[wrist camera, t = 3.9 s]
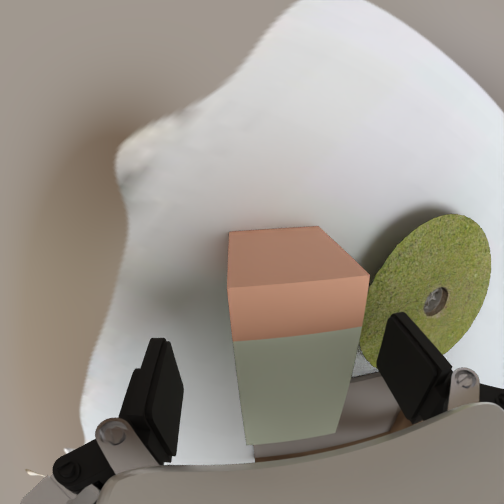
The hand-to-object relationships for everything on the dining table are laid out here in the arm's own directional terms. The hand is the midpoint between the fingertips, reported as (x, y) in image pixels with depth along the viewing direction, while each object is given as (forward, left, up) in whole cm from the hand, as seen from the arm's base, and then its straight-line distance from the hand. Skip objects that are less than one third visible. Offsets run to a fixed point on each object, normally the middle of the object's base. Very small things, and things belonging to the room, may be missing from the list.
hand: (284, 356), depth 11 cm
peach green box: (0, 0, -5) cm, 5 cm away
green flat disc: (-1, -10, -5) cm, 11 cm away
